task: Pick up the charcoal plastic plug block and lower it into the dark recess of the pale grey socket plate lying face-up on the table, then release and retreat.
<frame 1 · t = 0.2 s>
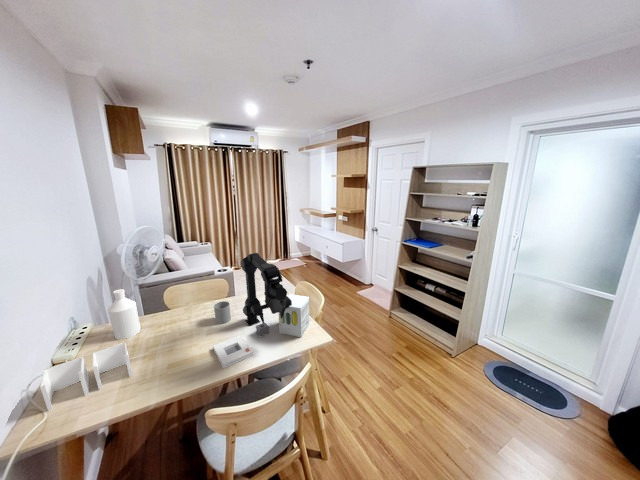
hand: (272, 320, 123), 14 cm above the table, fingers open, 9 cm apart
plug: (262, 333, 136), on the table
cup: (223, 320, 148), on the table
bottle: (128, 333, 137), on the table
supplement box: (294, 328, 140), on the table
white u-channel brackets: (94, 384, 103), on the table
socket plate: (232, 352, 122), on the table
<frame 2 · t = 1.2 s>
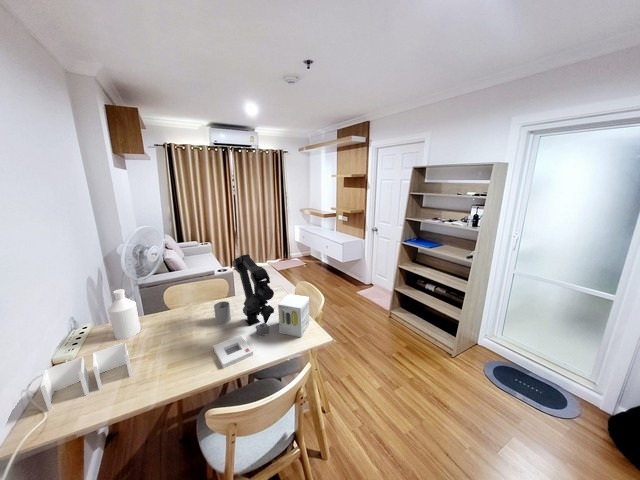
hand: (261, 319, 134), 9 cm above the table, fingers open, 9 cm apart
nothing on the table moved.
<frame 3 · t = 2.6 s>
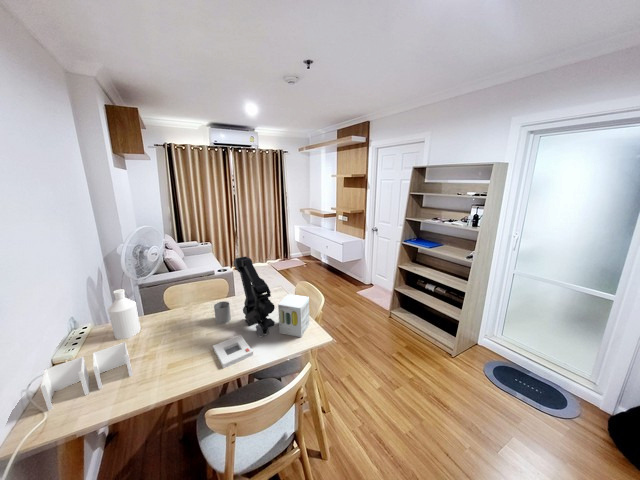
hand: (262, 331, 136), 1 cm above the table, fingers closed on plug, 4 cm apart
plug: (262, 333, 136), on the table, touching gripper
everything else where it was.
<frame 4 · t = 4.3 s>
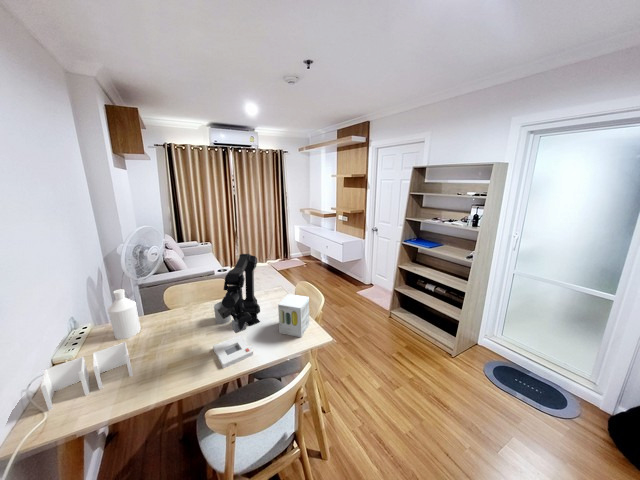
hand: (238, 327, 122), 12 cm above the table, fingers closed on plug, 4 cm apart
plug: (239, 329, 122), point 10 cm above the table, touching gripper
everything else where it was.
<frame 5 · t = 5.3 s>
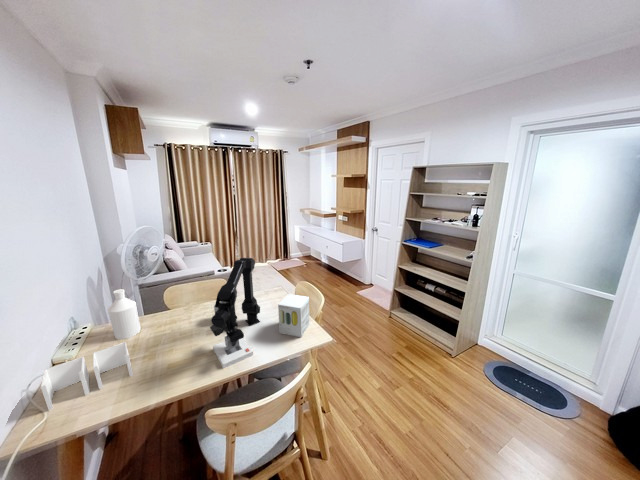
hand: (232, 343, 121), 5 cm above the table, fingers closed on plug, 4 cm apart
plug: (232, 345, 121), point 4 cm above the table, touching gripper
everything else where it was.
when the fingers open (2 cm above the table, at t = 6.1 s): plug drops 1 cm, resting on socket plate.
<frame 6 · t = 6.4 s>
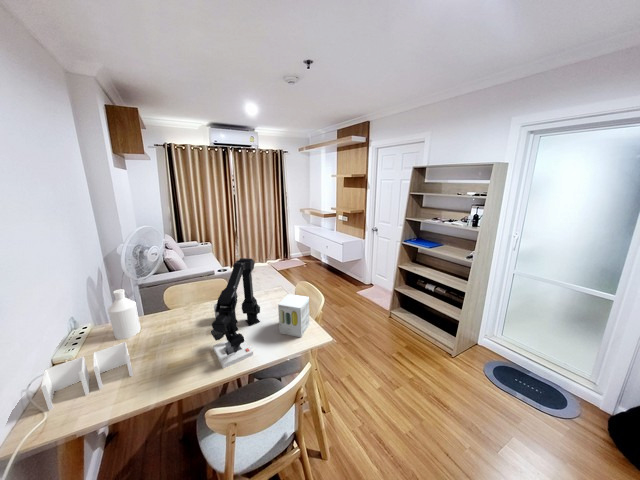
hand: (232, 347, 121), 2 cm above the table, fingers open, 8 cm apart
plug: (233, 351, 122), resting on socket plate
everything else where it was.
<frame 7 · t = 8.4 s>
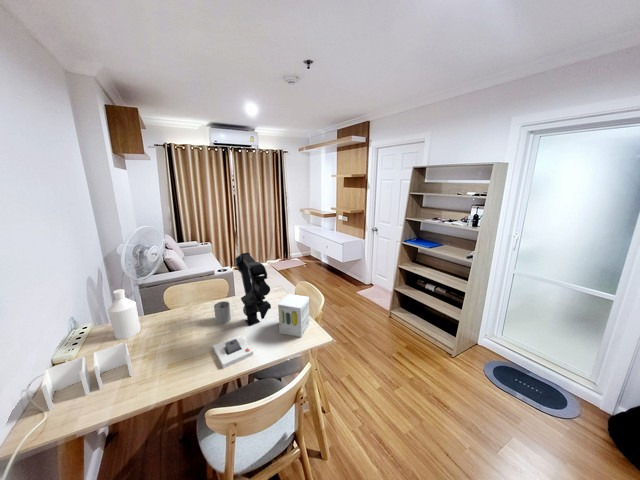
hand: (259, 314, 133), 12 cm above the table, fingers open, 9 cm apart
nothing on the table moved.
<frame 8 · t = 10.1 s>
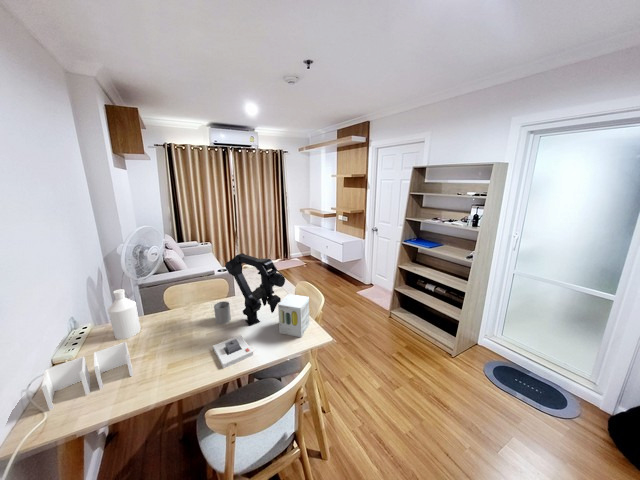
hand: (268, 308, 138), 12 cm above the table, fingers open, 9 cm apart
nothing on the table moved.
at the end: plug 0.1 cm off-centre on the socket plate, point 0.3 cm above the socket plate's base; plug tilted 0°; the gripper is holding nothing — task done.
